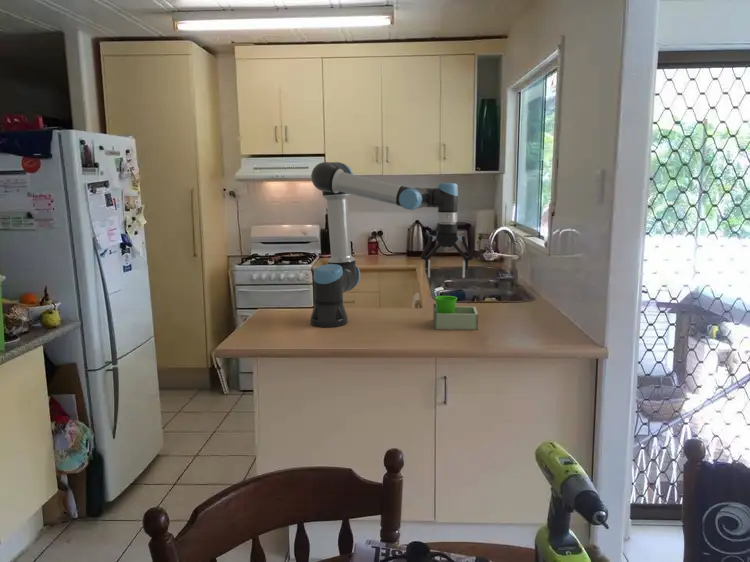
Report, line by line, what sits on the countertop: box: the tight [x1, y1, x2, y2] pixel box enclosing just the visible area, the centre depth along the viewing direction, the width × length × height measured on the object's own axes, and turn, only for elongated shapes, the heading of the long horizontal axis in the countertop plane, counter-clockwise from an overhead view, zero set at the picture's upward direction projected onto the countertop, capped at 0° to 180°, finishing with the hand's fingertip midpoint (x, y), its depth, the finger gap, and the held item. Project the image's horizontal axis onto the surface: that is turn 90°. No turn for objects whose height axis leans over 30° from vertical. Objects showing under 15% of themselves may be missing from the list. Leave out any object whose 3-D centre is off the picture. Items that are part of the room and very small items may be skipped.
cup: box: [434, 295, 458, 314], centre depth 235 cm, size 9×9×11 cm
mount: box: [432, 303, 479, 331], centre depth 235 cm, size 17×14×7 cm
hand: (446, 277), depth 233 cm, fingers open, 13 cm apart
